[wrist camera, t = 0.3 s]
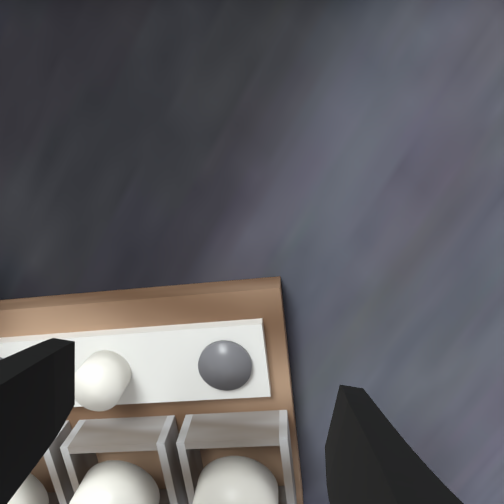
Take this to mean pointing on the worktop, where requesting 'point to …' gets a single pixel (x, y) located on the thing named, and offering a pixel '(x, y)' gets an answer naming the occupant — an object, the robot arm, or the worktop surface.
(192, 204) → the worktop surface
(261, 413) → the console
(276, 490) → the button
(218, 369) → the strip
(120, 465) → the button mid
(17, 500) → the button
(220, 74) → the worktop surface
